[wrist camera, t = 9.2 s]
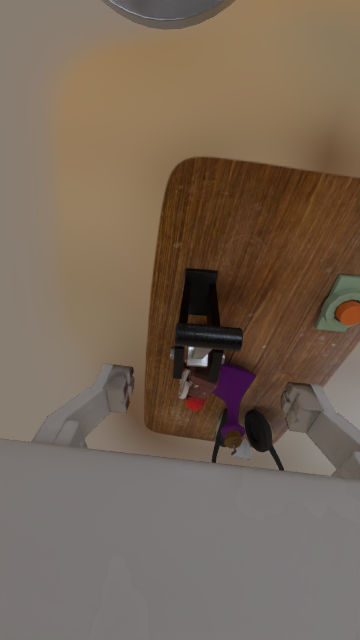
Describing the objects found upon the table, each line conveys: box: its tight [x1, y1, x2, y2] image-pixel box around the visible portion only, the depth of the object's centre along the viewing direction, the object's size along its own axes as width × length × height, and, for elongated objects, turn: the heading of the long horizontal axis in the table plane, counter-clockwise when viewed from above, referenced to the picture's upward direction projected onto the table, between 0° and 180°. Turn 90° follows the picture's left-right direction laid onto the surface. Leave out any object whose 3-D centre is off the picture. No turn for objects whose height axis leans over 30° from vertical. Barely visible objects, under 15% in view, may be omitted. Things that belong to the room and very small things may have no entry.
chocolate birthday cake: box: [178, 346, 218, 414], centre depth 38 cm, size 9×8×15 cm
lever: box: [175, 323, 243, 367], centre depth 20 cm, size 14×4×2 cm
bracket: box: [170, 268, 225, 383], centre depth 32 cm, size 8×6×18 cm
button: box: [335, 300, 360, 326], centre depth 36 cm, size 4×4×2 cm
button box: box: [314, 275, 360, 332], centre depth 37 cm, size 10×6×2 cm, turn 177°
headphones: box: [212, 409, 284, 471], centre depth 48 cm, size 9×15×20 cm, turn 85°
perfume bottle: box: [212, 362, 256, 460], centre depth 41 cm, size 8×8×18 cm
